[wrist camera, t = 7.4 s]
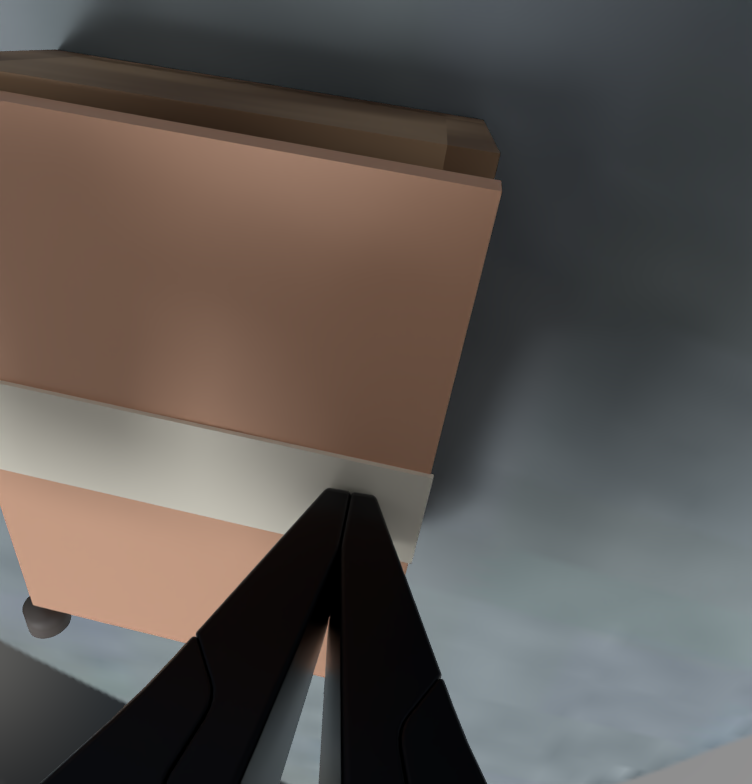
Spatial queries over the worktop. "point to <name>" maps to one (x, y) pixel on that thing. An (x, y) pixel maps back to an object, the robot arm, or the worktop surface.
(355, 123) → the walnut box
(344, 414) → the lid
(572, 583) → the worktop surface
